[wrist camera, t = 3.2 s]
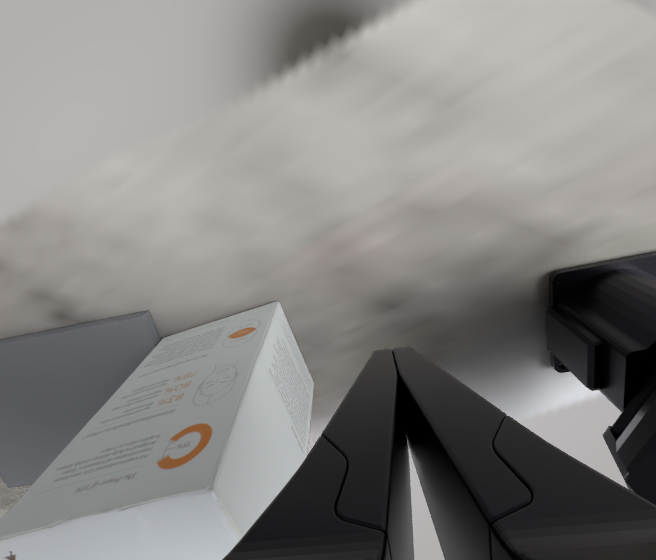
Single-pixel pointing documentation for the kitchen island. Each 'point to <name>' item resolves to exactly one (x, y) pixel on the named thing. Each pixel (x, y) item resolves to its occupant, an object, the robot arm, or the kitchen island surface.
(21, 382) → the mat
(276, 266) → the kitchen island surface
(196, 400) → the small box
